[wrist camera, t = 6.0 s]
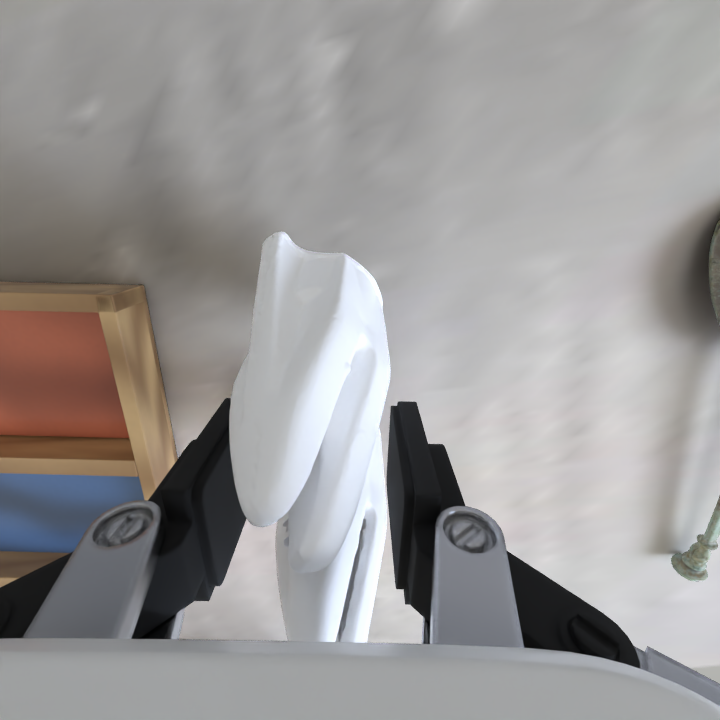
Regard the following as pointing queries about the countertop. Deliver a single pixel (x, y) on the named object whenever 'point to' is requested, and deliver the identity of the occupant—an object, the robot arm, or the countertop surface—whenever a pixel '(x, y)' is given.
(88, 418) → the sorting tray
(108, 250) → the countertop surface
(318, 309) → the shaker set
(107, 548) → the robot arm
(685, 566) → the soupspoon
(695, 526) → the countertop surface
